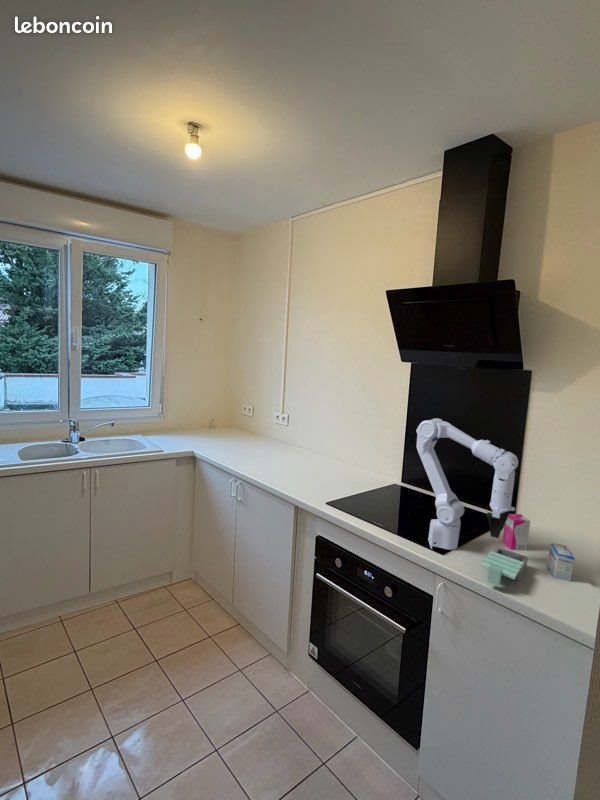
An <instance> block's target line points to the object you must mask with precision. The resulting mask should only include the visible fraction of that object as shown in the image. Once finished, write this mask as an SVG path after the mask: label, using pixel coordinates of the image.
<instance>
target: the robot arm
mask: <svg viewBox="0 0 600 800" xmlns="http://www.w3.org/2000/svg"><path fill="white" fill-rule="evenodd" d="M416 435H417V436H416V446H415V447H416V449H417V453H418V455H419V457H420V460H421V462H422V464H423V467H424V470H425V472H426V474H427V477H428V480H429V482H430V485H431V487H432V490H433V492H434V494H435V502H434V505H435V508H436V517H437V518H436V519H435V518H434V519H432V518H431V520H430V523H429V530H428V531H429V532H428V538H427V540H428V543H429V547H430V549H431V550H433V547H435V548H440V549H444V550H449V551H454V550H457V549H458V545H459V539H460V531H461V524H462V523H461V522H462V521H461V519H460V518H461V517H463V516H464V514H465V506H464V504H463V503H462V502H461V501H460V500H459V498H458V497H457V495H456V493H454V492H453V491H452V490H451V488H450V485H449V482H448V480H447V477H446V475H445V473H444V470H443V467H442V465H441V462H440V460H439V458H438V456H437V453H436V451H435V449H434V448H435V446H436V443H438V440H439V439H440V438H445V439H446V438H449V439H451V440H453V441H455V442H457V443H459V444H460V445H462V446H464V447H466V448H468V449H470V450H471V453H472V455H473V456H475V457H477V458H479V459H480V460H481V461H483V462H485V463H487V464H488V465H489V466H493V469H494V476H493V482H492V489H491V497H490V502H489V507H490V509H491V511H492V512H487V513H486V518H487V520H488V525H489V531H490V532H489V533H490V537H492V538H494V539H495V538H496V539H499V537H500V535H501V533H502V531H504V525H505V522H506V520H507V517H508V515H509V514H511V513H512V512H514V511H515V510H516V507H514V506H512V501H513V491H514V486H515V485H514V484H515V476H516V469H517V468H518V465H519V460H518V457H517V455H516V454H515V453H513V452H511V451H506V449H503V448H499V447H497V446H495V445H493V444H491V440H488V439H486V440H484V439H480V440H479V439H478V440H477V439H475V438H473V437H472V436H470V435H469V434H467V433H465V432H464V431H462V430H460V429H458V428H457V427H455V426H454V425H452V424H451V423H450V422H448V421H443V419H441V418H438V417H437V418H432V419H428V420H423V421H421V423H419V425H418V426H417V428H416Z"/></svg>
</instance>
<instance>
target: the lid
mask: <svg viewBox="0 0 600 800" xmlns="http://www.w3.org/2000/svg"><path fill="white" fill-rule="evenodd" d="M493 551H494V550H491V551H490V552H488V553H487V555H486V556H485V557H484V558H483V559H482V561H481V562H480V563H479V567H480V568H482V569H485V570H486V569H488V570H487V573H488V574H487V581H486V582H487V583H489V584H492V585H494V586H497V587H499V586H500V585H501V582H502V575H504V576H503V577H505V576H506V577H505V578H507V577H509V578H508V579H510V578H512V579H511V580H513V579H515V578H516V576H517V575H518V573H519V571H520V570H521V568H522V566H523V565H524V562H521V561H518V560H515V559H513V558H510V557H507V556H504V555H501V554H498V553H495V552H493Z"/></svg>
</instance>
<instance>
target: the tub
mask: <svg viewBox="0 0 600 800" xmlns="http://www.w3.org/2000/svg"><path fill="white" fill-rule="evenodd" d="M492 551H493V552H495V553H498V554H501V555H504V556H507V557H510V558H512V557H516V558H519V559H521V560H522V561H521V562H524V565H523V566H522V568H521V570H520V571H519V573H518V575H517V576H516V578H515V579H512V578H509V577H506V576H504V575H502V576H503V577H504V578H508V579H510V580H512V581H513V580H514V581H515V582H520V580H521V578H522V577H523V574H524V573H525V571H526V570H527V567H528V560H529V556H526V555H523V554H520V553H519V552H518V553H517V552H515V551H513V550H512V551H511V550H510V549H509V550H508V549H505V548H502V547H500V546H496V548H495V549H494V550H492ZM485 570H486V571H489V570H488V569H485ZM502 576H501V577H502Z"/></svg>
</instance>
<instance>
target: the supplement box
mask: <svg viewBox="0 0 600 800" xmlns="http://www.w3.org/2000/svg"><path fill="white" fill-rule="evenodd" d="M530 526H531V519H528V517H526V516H524V515H523V514H521V513H520V514H519V513H510V514H509V515H508V517H507V520H506V522H505V525H504V528H503V534H502V541H501V542H502V544H504V545H505V546H506V547H507V548H508V549H509V550H510V551H511V550H512V551H527V548H528V541H529V535H530V534H529V533H530Z"/></svg>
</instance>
